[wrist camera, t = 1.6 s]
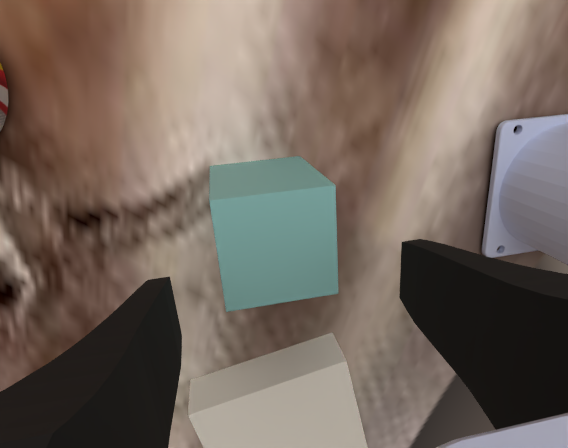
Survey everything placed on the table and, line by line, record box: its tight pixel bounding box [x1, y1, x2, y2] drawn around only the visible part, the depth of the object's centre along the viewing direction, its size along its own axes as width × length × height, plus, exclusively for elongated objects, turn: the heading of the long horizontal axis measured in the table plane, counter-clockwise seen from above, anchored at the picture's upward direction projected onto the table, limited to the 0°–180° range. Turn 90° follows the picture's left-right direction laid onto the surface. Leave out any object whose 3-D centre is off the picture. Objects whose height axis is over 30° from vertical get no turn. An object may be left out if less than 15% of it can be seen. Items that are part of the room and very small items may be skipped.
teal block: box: [209, 156, 338, 312], centre depth 17 cm, size 4×4×6 cm
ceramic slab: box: [188, 332, 368, 448], centre depth 24 cm, size 9×9×3 cm
